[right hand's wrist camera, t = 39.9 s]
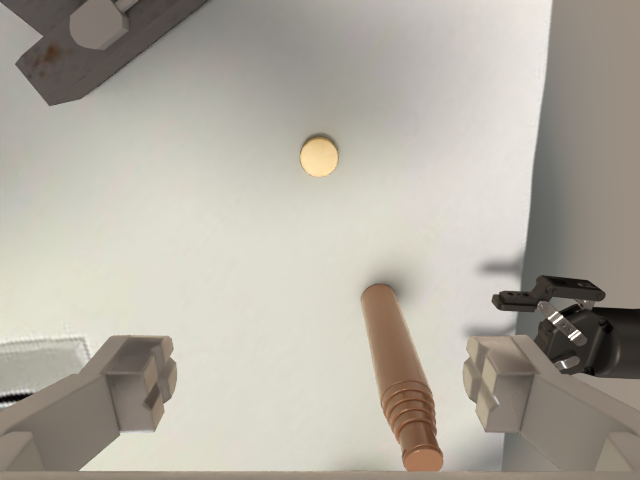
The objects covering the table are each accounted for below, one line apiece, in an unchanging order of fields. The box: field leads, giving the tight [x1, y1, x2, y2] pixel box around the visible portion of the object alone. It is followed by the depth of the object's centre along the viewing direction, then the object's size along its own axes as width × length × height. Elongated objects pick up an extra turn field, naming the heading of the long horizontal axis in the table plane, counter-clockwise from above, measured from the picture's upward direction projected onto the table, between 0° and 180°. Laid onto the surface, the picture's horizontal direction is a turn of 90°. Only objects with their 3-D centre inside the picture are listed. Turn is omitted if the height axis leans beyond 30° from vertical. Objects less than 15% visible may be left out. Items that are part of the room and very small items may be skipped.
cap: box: [300, 137, 338, 177], centre depth 41 cm, size 4×4×2 cm
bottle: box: [361, 284, 443, 471], centre depth 38 cm, size 4×4×23 cm
